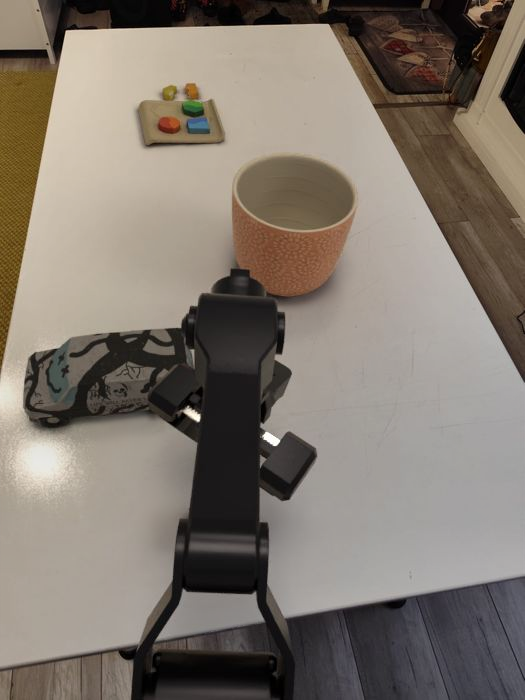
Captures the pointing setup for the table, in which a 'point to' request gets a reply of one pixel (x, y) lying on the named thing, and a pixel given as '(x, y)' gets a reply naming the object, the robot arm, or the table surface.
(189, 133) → the shape puzzle
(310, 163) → the planter
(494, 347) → the table surface
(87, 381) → the toy car
